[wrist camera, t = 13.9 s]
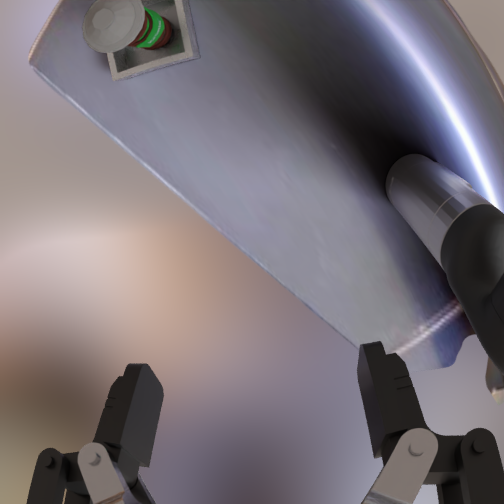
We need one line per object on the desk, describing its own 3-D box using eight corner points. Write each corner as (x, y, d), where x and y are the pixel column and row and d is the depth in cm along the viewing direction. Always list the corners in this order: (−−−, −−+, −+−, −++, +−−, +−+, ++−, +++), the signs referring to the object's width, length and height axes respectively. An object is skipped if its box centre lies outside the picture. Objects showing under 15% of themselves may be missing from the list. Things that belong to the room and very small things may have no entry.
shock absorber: (163, 63, 33) (114, 62, 21) (124, 46, 32) (61, 41, 19) (188, 21, 30) (150, -3, 18) (147, 5, 29) (93, -20, 16)
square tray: (186, -10, 28) (178, -19, 24) (200, 57, 33) (193, 56, 30) (113, 14, 29) (98, 10, 25) (127, 79, 35) (113, 81, 31)
